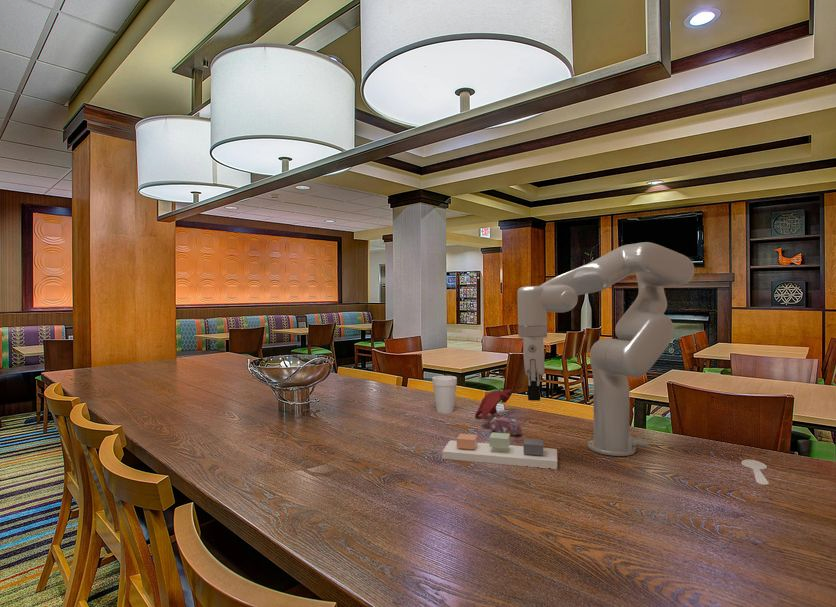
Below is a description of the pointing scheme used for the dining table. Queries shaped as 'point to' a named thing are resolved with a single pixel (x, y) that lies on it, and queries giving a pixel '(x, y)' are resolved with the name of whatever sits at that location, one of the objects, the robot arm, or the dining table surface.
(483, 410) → the decorative bird sculpture
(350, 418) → the dining table surface
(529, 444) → the charcoal key
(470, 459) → the keypad base
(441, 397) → the foam cup
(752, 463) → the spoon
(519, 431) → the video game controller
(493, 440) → the sage key
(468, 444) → the terracotta key
